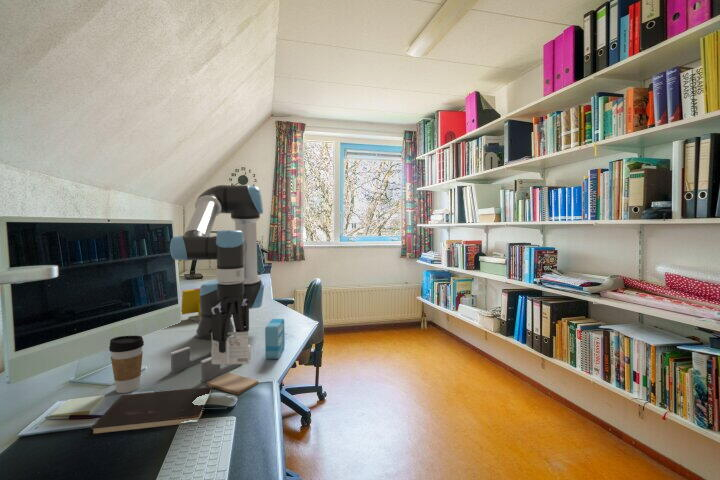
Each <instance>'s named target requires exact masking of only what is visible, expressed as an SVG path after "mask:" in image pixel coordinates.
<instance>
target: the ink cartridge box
mask: <svg viewBox="0 0 720 480" xmlns="http://www.w3.org/2000/svg"><path fill="white" fill-rule="evenodd" d="M229 334H231V335H229ZM227 335H229V336H233V337H230V338H229V337H227V341H229V363H228V364H242V365H246V364H247V365H248V364H250V363H251V362H252V345H251V344H249V340H250V339H249V331H248V332H236V331H234V332H228V334H227ZM234 336H235V337H236V338H234ZM211 337H212V332H211ZM210 349H211V351H210V352H211V363H212V364H220V365H228V364H226V363H222V362H221V353H220V352H219V342H218V341H214V340H212V339H211V348H210Z"/></svg>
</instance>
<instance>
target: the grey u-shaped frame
mask: <svg viewBox="0 0 720 480" xmlns="http://www.w3.org/2000/svg"><path fill="white" fill-rule="evenodd" d="M169 354H170V373H173V374H175V373H176V372H179V371H182V370H184V369H186V368H189V367H191V366H194V365H196V364H199V363H201V367H200V368H201V369H200V371H201V372H200V373H201V382H202V383H206V382H208V381H210V380H212V379H215V378H217V377H219V376H221V375H223V374H225V373H227V372H229V371H232V370H234V369H236V368H237V367H240V366H242V365H243V364H225V365H224V366H221V364H212V363H211V351H210V352H207V353H204V354H203V355H200V356H197V357H193V358H192V359H191V347H190V346H186V347H184V348H180V349H177V350H175V351H172V352H170V353H169Z"/></svg>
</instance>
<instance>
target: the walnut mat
mask: <svg viewBox="0 0 720 480" xmlns="http://www.w3.org/2000/svg"><path fill="white" fill-rule="evenodd" d="M205 384H206V386H208V387H212V388H215V389H217V390H221V391H224V392H227V393H230V394H233V395H240V394H242V393H243V392H246V391H247V390H249V389H251V388H252V387H255V386H256V385H258V384H259V380H256V379H252V378H249V377H245V376H242V375H238V374H236V373H235V374H234V373H231V372H229V371H227V372H225V373H223V374H221V375H219V376H217V377H214V378H212V379H210V380H208V381H206V382H205Z"/></svg>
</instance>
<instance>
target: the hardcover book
mask: <svg viewBox="0 0 720 480" xmlns="http://www.w3.org/2000/svg"><path fill="white" fill-rule="evenodd" d="M212 392H213V387H211V386H208V387H207V386H206V387H197V388H196V387H195V388H194V387H193V388H186V389H174V390H173V389H172V390H162V391H153V392H152V391H151V392H140V393H130V394H128V393H127V394H121V395H120V397H118V398H117V400H116V401H115V402H113V404H112V405H110V407H109V408H108V409H107V410H106V411H105V412H104V413H103V414H102V415H101V416H100V418H98V419H97V420H96V422H95V423H94V424H93V425H92V426H91V427H90V430H91V429H92V431H93V432H92V433H93V434H102V433H111V432H121V431H130V430H139V429H147V428H149V429H150V428H157V427H165V426H173V425H175V426H176V425H181V424H180V423H181V422H184V421H189V420H199V421H200V419H201V417H202V414H203V412H204V410H202V409H203V405H201V406H198V405H194V404H193V403H192V402H193V401H194V400H195V399H196V398H197V397H199V396H202V395H205V394H209V393H211V394H212ZM202 411H203V412H202ZM199 418H200V419H199Z"/></svg>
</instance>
